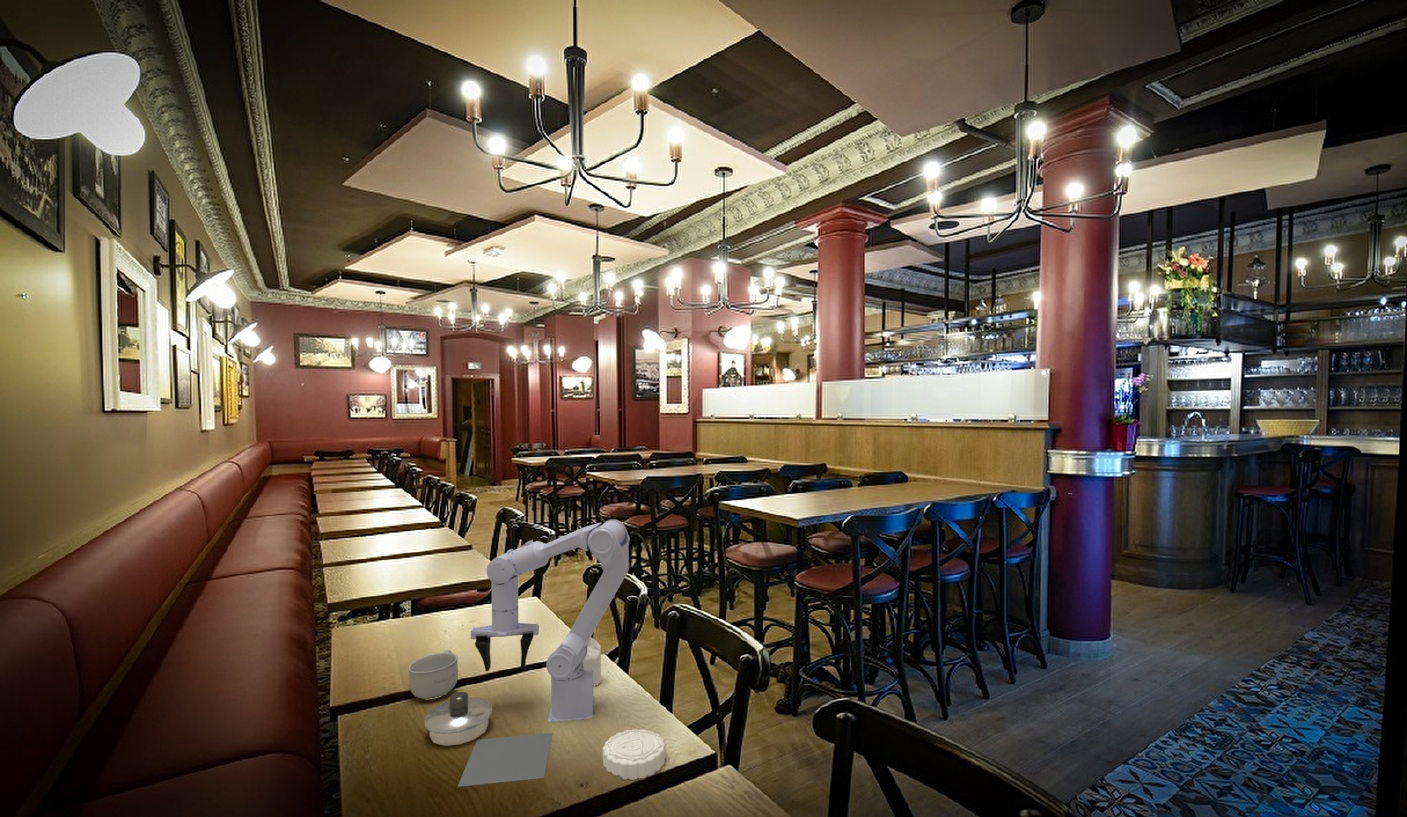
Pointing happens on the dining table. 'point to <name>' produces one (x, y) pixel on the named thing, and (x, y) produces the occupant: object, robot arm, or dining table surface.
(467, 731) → the cream dish
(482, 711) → the steel lid
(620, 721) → the dining table surface
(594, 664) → the roll
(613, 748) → the mooncake
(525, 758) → the slate mat
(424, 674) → the teacup
